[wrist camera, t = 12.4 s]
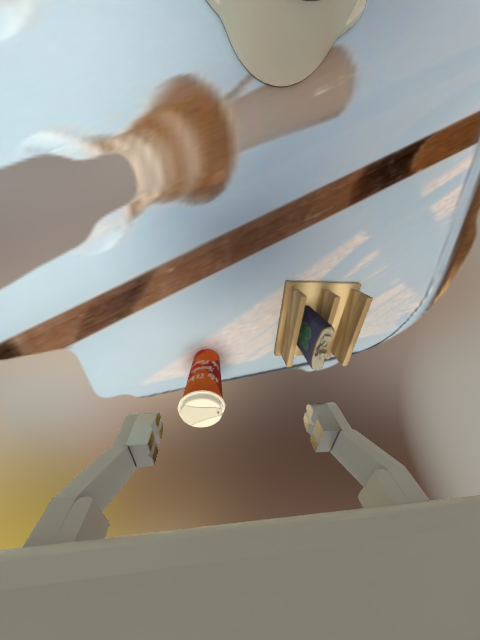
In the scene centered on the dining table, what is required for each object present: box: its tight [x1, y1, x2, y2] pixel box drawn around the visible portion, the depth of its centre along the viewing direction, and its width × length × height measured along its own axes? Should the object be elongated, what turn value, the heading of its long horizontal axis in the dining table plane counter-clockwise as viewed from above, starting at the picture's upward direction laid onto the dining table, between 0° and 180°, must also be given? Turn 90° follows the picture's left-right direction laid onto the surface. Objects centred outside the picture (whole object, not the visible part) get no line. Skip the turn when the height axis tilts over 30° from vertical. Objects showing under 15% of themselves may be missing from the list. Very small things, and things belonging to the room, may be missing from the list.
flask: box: [297, 305, 335, 370], centre depth 36 cm, size 9×3×11 cm, turn 176°
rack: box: [274, 281, 373, 367], centre depth 39 cm, size 15×17×6 cm
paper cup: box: [178, 349, 225, 427], centre depth 37 cm, size 8×8×14 cm
